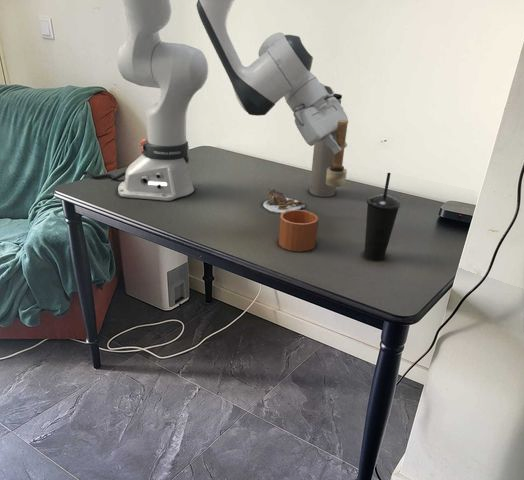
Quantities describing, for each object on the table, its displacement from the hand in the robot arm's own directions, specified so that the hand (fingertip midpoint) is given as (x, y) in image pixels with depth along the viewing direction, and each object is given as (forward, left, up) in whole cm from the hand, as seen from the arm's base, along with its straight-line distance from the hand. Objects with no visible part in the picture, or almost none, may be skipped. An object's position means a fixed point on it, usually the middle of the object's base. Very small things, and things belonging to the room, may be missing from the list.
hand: (341, 150), depth 127 cm
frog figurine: (-12, +16, -20) cm, 28 cm away
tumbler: (-11, -10, -20) cm, 25 cm away
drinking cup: (+7, -17, -20) cm, 28 cm away
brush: (0, 0, -8) cm, 8 cm away
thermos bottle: (+2, +28, -20) cm, 35 cm away
